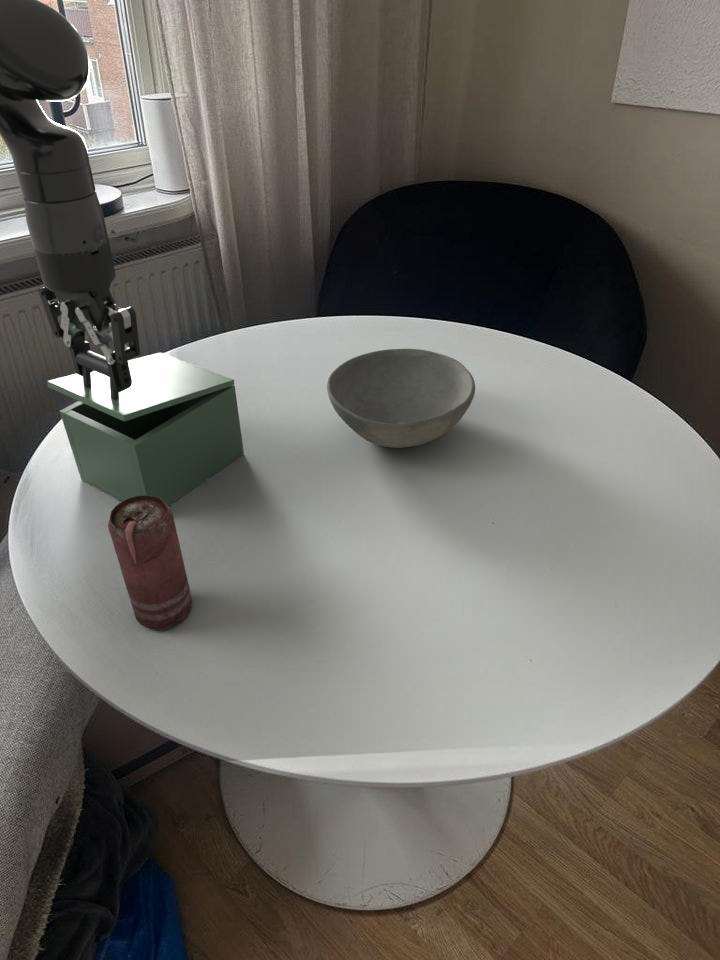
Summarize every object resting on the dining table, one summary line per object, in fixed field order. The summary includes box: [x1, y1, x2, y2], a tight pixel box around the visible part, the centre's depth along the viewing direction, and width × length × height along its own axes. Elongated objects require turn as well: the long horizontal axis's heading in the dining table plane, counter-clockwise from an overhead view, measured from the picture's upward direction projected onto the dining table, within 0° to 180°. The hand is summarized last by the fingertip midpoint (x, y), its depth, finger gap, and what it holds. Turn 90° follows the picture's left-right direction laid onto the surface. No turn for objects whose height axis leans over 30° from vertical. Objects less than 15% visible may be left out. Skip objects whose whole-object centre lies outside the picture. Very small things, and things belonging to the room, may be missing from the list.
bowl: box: [326, 348, 476, 449], centre depth 102 cm, size 21×21×8 cm
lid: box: [46, 349, 235, 421], centre depth 88 cm, size 18×14×5 cm
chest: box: [59, 384, 245, 507], centre depth 94 cm, size 17×14×11 cm
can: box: [107, 495, 193, 631], centre depth 72 cm, size 6×6×14 cm
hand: (104, 380), depth 84 cm, fingers closed on lid, 6 cm apart
